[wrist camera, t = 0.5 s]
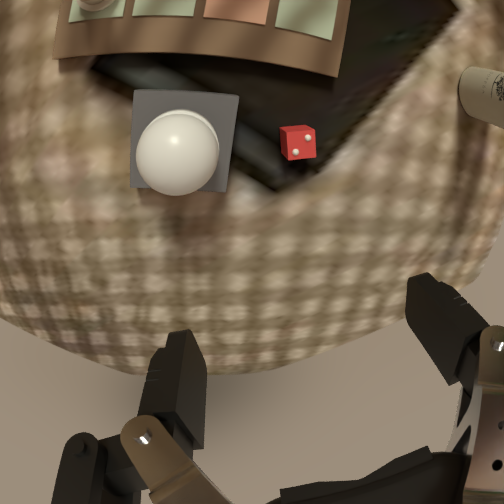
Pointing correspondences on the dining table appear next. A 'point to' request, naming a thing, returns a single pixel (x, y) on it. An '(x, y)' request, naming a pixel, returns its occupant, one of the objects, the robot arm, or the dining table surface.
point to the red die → (297, 142)
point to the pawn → (94, 4)
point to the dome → (177, 152)
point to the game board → (211, 30)
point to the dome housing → (205, 103)
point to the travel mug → (483, 94)
